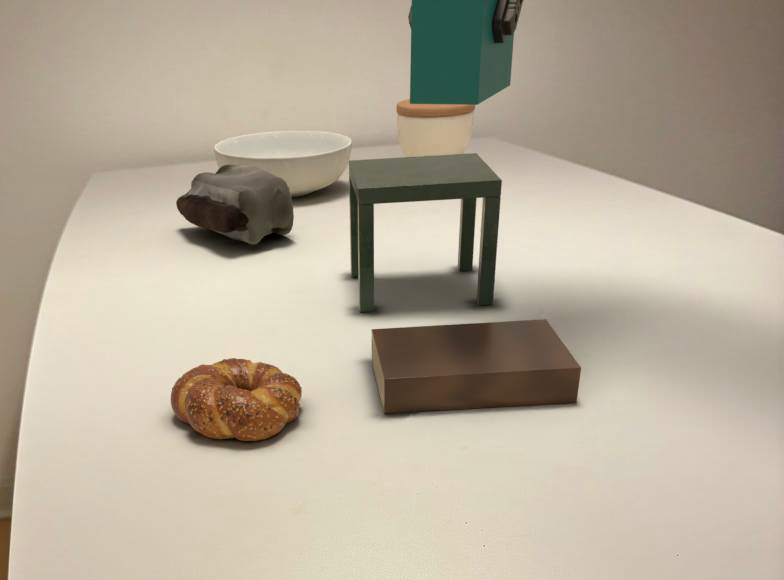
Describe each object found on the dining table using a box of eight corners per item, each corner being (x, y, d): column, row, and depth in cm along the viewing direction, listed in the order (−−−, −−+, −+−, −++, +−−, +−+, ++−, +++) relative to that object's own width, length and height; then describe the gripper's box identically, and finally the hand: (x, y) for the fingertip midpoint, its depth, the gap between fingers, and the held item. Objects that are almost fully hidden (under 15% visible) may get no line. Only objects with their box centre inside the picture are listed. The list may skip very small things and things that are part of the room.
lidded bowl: (478, 169, 152) (483, 91, 146) (400, 174, 152) (401, 96, 146) (464, 154, 162) (468, 80, 156) (391, 159, 162) (392, 85, 156)
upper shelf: (470, 266, 110) (476, 152, 103) (493, 304, 99) (502, 180, 92) (350, 273, 110) (348, 160, 103) (359, 312, 99) (358, 188, 92)
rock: (166, 230, 130) (159, 167, 125) (238, 216, 135) (233, 155, 130) (227, 259, 117) (221, 191, 113) (304, 244, 122) (302, 177, 117)
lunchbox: (446, 85, 81) (450, -29, 77) (511, 85, 79) (520, -31, 75) (408, 104, 74) (410, -20, 69) (478, 105, 72) (486, -23, 67)
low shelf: (543, 351, 88) (546, 318, 86) (576, 402, 78) (581, 367, 76) (371, 361, 88) (371, 329, 86) (384, 413, 78) (384, 379, 76)
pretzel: (322, 435, 75) (320, 391, 73) (188, 457, 73) (182, 412, 71) (285, 381, 85) (282, 341, 83) (165, 399, 83) (159, 358, 81)
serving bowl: (224, 213, 137) (219, 160, 133) (213, 183, 153) (208, 136, 149) (364, 200, 139) (364, 148, 135) (339, 172, 155) (338, 126, 151)
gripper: (413, -198, 73) (358, -1, 72) (602, -217, 68) (547, -5, 67) (431, -111, 80) (382, 70, 79) (604, -123, 75) (554, 71, 74)
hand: (458, 35), depth 73 cm, fingers closed on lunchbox, 5 cm apart
